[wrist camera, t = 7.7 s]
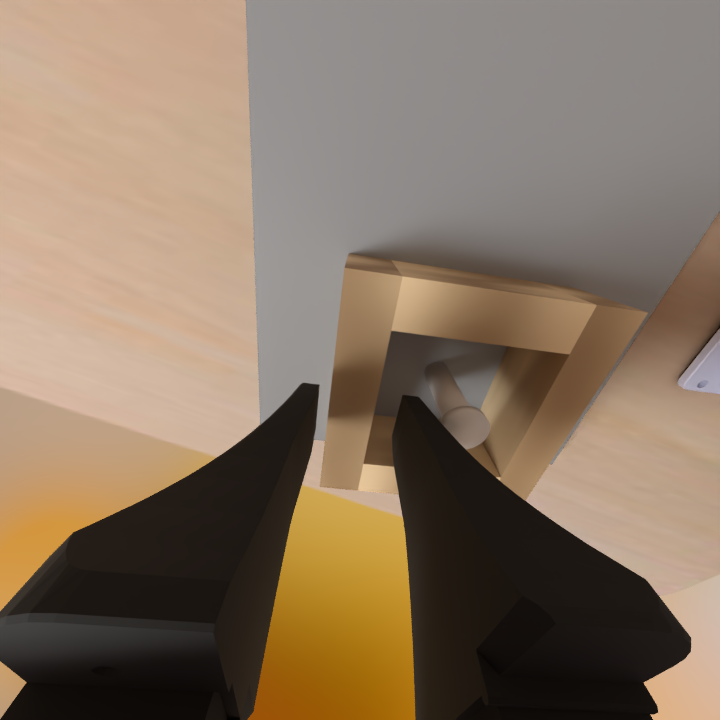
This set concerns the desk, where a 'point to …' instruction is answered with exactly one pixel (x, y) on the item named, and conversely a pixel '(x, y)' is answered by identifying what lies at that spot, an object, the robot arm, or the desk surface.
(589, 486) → the desk surface
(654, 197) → the slate board
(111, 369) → the desk surface
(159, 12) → the desk surface
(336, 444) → the oak frame
